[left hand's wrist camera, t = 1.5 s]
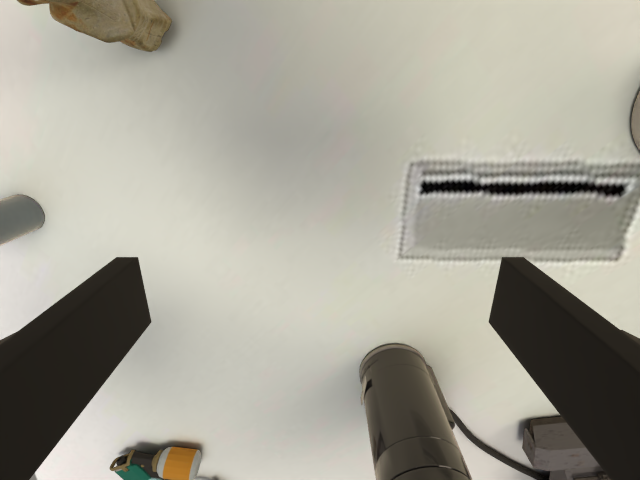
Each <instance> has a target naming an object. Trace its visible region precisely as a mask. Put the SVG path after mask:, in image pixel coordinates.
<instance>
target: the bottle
mask: <svg viewBox="0 0 640 480" xmlns="http://www.w3.org/2000/svg"><path fill="white" fill-rule="evenodd" d="M43 223H44V213H43V210H42V208H41V207H40V205H39V204H38V203H37V202H36V201H35V200H33V199H32V198H30V197H28V196H25V195H13V196H10V197H6V198H3V199H0V246H1V245H4V244H6V243H8V242H10V241H13V240H15V239H17V238H19V237H22V236H24V235H26V234H28V233H31V232H33V231H35V230H37V229H39V228H40V227H41V226H42V225H43Z"/></svg>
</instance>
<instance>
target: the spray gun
mask: <svg viewBox="0 0 640 480" xmlns="http://www.w3.org/2000/svg"><path fill="white" fill-rule="evenodd" d="M116 462H117V466H116V467H114V465H115V463H116ZM200 462H201V453H200V451H199V450H197V449H189V448H181V447H168V448H166V449H165V450H164V451H163V450H159V451H158V453H157V454H156V455H155V456H154V455H152V454H147V453H142V452H137V451H135V450H132V451H131V452H130V453H129V454H126V455H123V456H120V457H118V458H116V459H115V460H114V461H113V462H112V464H111V466H110V470H111V471H114V470H115V472H116V473H117V474H118V475H119V476H120V477H121V478H122V479H124V480H193V479H195V477H196V475H197V473H198V470H199V466H200ZM113 467H114V468H113Z"/></svg>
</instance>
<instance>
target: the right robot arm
mask: <svg viewBox="0 0 640 480" xmlns="http://www.w3.org/2000/svg"><path fill="white" fill-rule="evenodd" d="M360 381H361V384H362V394H361V404H362V403H363V398H364V404H365V410H366V417H367V423H368V430H369V437H370V443H371V450H372V456H373V463H374V470H375V476H376V480H472V478H471V475H470V473H469V470H468V468H467V465H466V463H465V461H464V458H463V456H462V453H461V451H460V449H459V446H458V444H457V441H456V439H455V436H454V434H453V431H452V429H453V428H454V426H455V423H456V424H457V426H458V427H459V428H460V430H461V431H462V432H463V433H464V434H465V436H466V437H467V438H468V439H469V440H470V441H472V442H473V443H474V444H475V445H476V446H478V447H479V448H480V449H482V450H483V451H485V452H486V453H488V454H490V455H491V456H493V457H495V458H496V459H498V460H500V461H502V462H503V463H505V464H507V465H509V466H511V467H512V468H514V469H516V470H518V471H520V472H522V473H524V474H526V475H529V476H531V477H533V478H535V479H537V480H549V479H547V478H545V477H543V476H541V475H539V474H537V473H535V472H533V471H531V470H529V469H527V468H525V467H523V466H521V465H519V464H517V463H515V462H513V461H511V460H509V459H508V458H506V457H504V456H502V455H501V454H499V453H497V452H496V451H494V450H492V449H491V448H489V447H487V446H486V445H484V444H483V443H482V442H480V441H479V440H478V439H476V438H475V437H474V436H473V435H472V434H471V433H470V432H469V431H468V429H467V428H466V427H465V426H464V424H463V423H462V422H461V420H460V419H459V418H458V416H457V415H456V414H455V413H454V412H453V411H451V410H449V408H448V406H447V403H446V401H445V399H444V396H443V394H442V391H441V389H440V387H439V384H438V382H437V380H436V377H435V375H434V373H433V370H432V368H431V367H430V366H428V365H426V362H425V360H424V358H423V356H422V355H421V354H420V353H419V352H418V351H417V350H415V349H413V348H411V347H409V346H406V345H401V344H390V345H385V346H382V347H379V348H377V349H375V350H373V351H372V352H370V353H369V354H368V355H367V356H366V357H365V359H364V360H363V362H362V364H361V366H360ZM454 422H455V423H454Z"/></svg>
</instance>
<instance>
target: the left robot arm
mask: <svg viewBox="0 0 640 480" xmlns="http://www.w3.org/2000/svg"><path fill="white" fill-rule="evenodd" d="M150 323H151V318H150V313H149V309H148V304H147V299H146V294H145V289H144V285H143V280H142V275H141V270H140V265H139V260H138V257H116V258H115V259H114V260H112V261H111V262H110V263H108V264H107V265H106V266H104V267H103V268H102V269H100V270H99V271H98V272H96V273H95V274H94V275H92V276H91V277H90V278H88V279H87V280H86V281H84V282H83V283H82V284H80V285H79V286H78V287H76V288H75V289H74V290H72V291H71V292H70V293H69V294H67V295H66V296H65V297H63V298H62V299H61V300H59V301H58V302H57V303H55V304H54V305H53V306H51V307H50V308H49V309H47V310H46V311H45V312H43V313H42V314H41V315H39V316H38V317H37V318H35V319H34V320H33V321H31V322H30V323H29V324H27V325H26V326H25V327H23V328H22V329H21V330H19V331H18V332H16V333H14V334H12V335H10V336H8V337H6V338H4V339H2V340H0V480H29V479H30V478H31V477H32V475H33V474H34V473H35V472H36V470H37V469H38V468H39V466H40V465H41V464H42V463H43V461H44V460H45V459H46V457H47V456H48V455H49V453H50V452H51V451H52V450H53V448H54V447H55V446H56V444H57V443H58V442H59V441H60V439H61V438H62V437H63V435H64V434H65V433H66V432H67V430H68V429H69V428H70V426H71V425H72V424H73V423H74V421H75V420H76V419H77V417H78V416H79V415H80V413H81V412H82V411H83V410H84V408H85V407H86V406H87V404H88V403H89V402H90V401H91V399H92V398H93V397H94V395H95V394H96V393H97V392H98V390H99V389H100V388H101V386H102V385H103V384H104V382H105V381H106V380H107V379H108V377H109V376H110V375H111V373H112V372H113V371H114V370H115V368H116V367H117V366H118V364H119V363H120V362H121V361H122V359H123V358H124V357H125V355H126V354H127V353H128V352H129V350H130V349H131V348H132V346H133V345H134V344H135V342H136V341H137V340H138V339H139V337H140V336H141V335H142V333H143V332H144V331H145V330H146V328H147V327H148V326H149V324H150ZM489 323H490V324H491V326H492V327H493V328H494V330H495V331H496V332H497V333H498V335H499V336H500V337H501V339H502V340H503V341H504V342H505V344H506V345H507V346H508V348H509V349H510V350H511V352H512V353H513V354H514V355H515V357H516V358H517V359H518V361H519V362H520V363H521V364H522V366H523V367H524V368H525V370H526V371H527V372H528V373H529V375H530V376H531V377H532V379H533V380H534V381H535V382H536V384H537V385H538V386H539V388H540V389H541V390H542V392H543V393H544V394H545V395H546V397H547V398H548V399H549V401H550V402H551V403H552V404H553V406H554V407H555V408H556V410H557V411H558V412H559V413H560V415H561V416H562V417H563V419H564V420H565V421H566V423H567V424H568V425H569V426H570V428H571V429H572V430H573V432H574V433H575V434H576V435H577V437H578V438H579V439H580V441H581V442H582V443H583V444H584V446H585V447H586V448H587V450H588V451H589V452H590V453H591V455H592V456H593V457H594V459H595V460H596V461H597V463H598V464H599V465H600V466H601V468H602V469H603V470H604V472H605V473H606V474H607V475H608V477H609V478H610V479H611V480H640V339H639V338H637V337H635V336H633V335H631V334H629V333H627V332H625V331H623V330H619V329H618V328H617V327H615V326H614V325H613V324H611V323H610V322H609V321H607V320H606V319H605V318H603V317H602V316H601V315H599V314H598V313H597V312H595V311H594V310H593V309H591V308H590V307H589V306H587V305H586V304H585V303H583V302H582V301H581V300H579V299H578V298H577V297H575V296H574V295H573V294H571V293H570V292H569V291H568V290H566V289H565V288H564V287H562V286H561V285H560V284H558V283H557V282H556V281H554V280H553V279H552V278H550V277H549V276H548V275H546V274H545V273H544V272H542V271H541V270H540V269H538V268H537V267H536V266H534V265H533V264H532V263H530V262H529V261H528V260H526V259H525V258H524V257H502V260H501V265H500V270H499V275H498V280H497V285H496V289H495V294H494V299H493V304H492V309H491V313H490V318H489Z"/></svg>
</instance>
